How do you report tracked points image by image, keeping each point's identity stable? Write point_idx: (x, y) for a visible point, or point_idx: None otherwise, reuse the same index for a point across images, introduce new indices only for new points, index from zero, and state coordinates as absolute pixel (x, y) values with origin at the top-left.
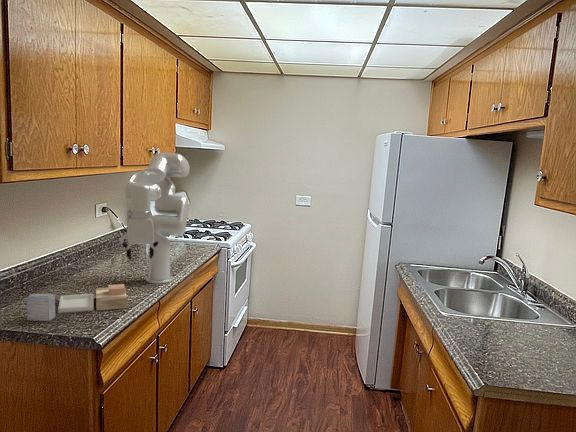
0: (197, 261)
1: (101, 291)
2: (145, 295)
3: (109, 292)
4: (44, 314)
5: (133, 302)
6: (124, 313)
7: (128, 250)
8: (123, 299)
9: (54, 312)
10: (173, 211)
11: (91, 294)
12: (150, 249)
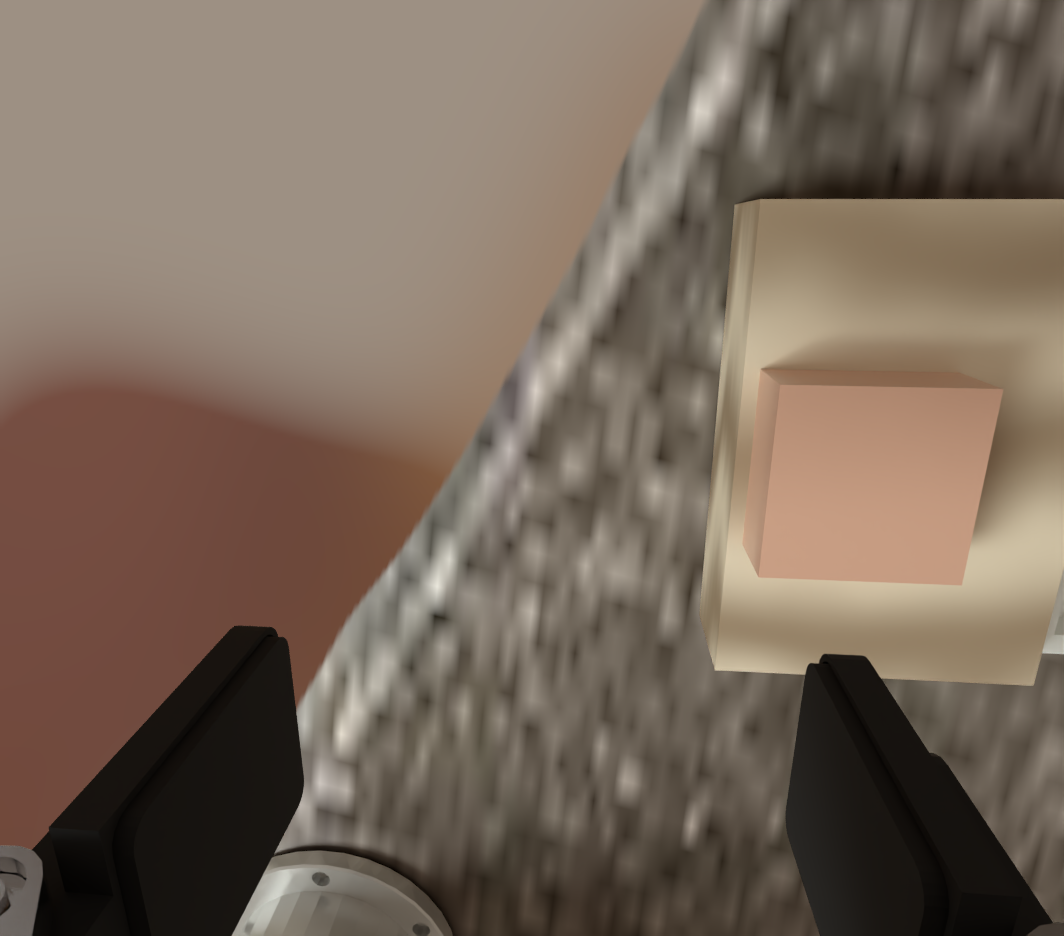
0: None
1: (1004, 554)
2: (499, 567)
3: (970, 379)
4: None
5: (642, 379)
6: (793, 9)
7: (994, 922)
8: (802, 201)
9: None
10: None
11: (1054, 630)
12: (125, 832)
